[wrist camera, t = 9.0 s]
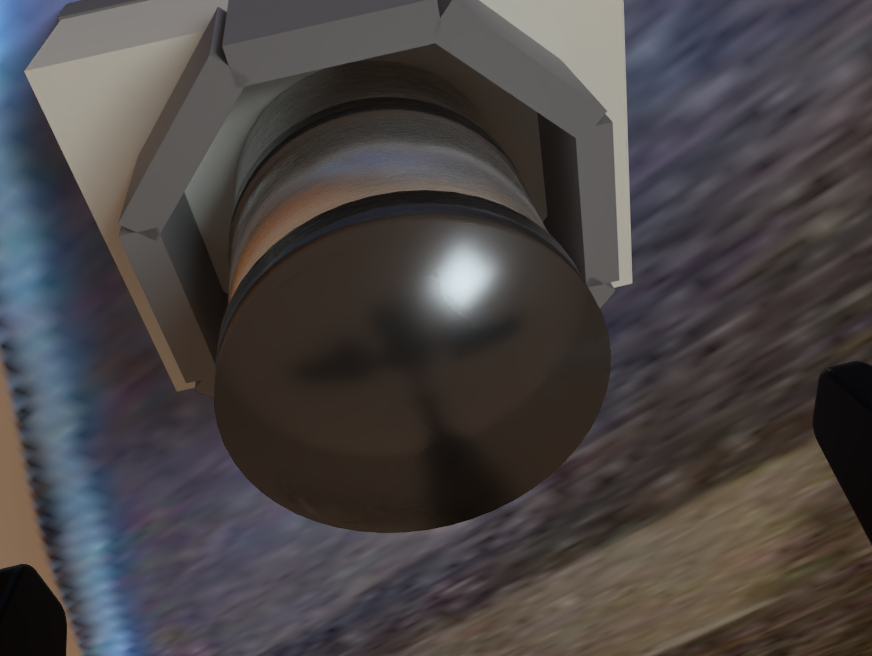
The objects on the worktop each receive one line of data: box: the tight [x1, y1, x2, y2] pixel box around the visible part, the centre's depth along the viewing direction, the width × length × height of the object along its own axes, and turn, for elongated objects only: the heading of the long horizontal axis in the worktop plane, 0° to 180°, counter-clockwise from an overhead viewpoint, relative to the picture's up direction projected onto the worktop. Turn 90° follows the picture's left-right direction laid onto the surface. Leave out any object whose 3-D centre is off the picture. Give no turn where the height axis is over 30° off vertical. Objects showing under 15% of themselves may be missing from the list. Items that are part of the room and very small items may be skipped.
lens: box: [214, 61, 611, 533], centre depth 13 cm, size 5×5×6 cm
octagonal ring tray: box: [24, 0, 632, 398], centre depth 16 cm, size 8×10×6 cm
